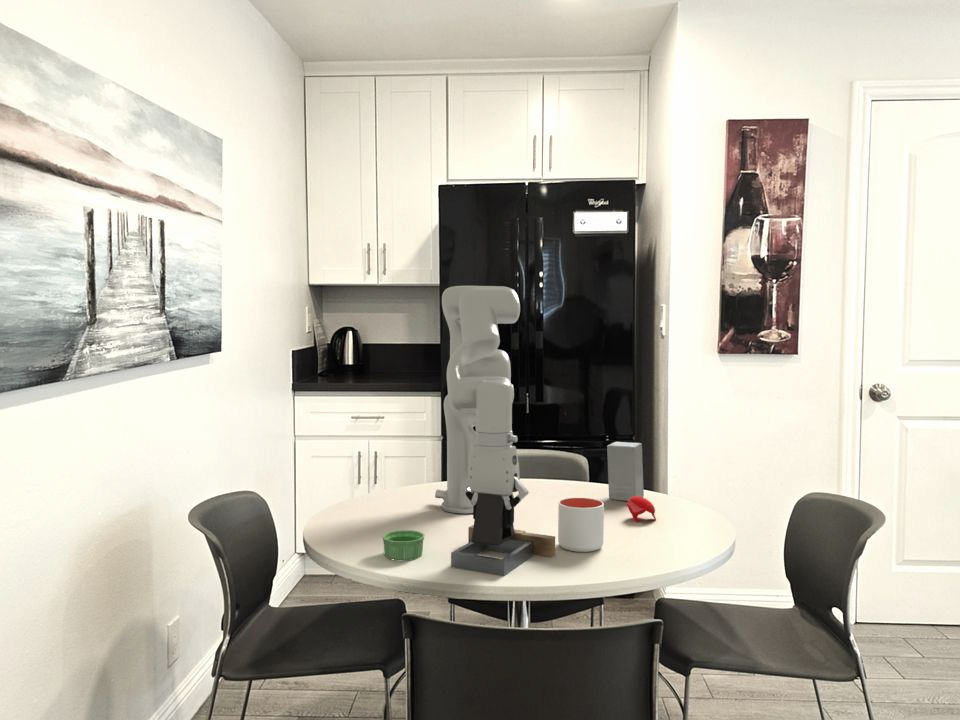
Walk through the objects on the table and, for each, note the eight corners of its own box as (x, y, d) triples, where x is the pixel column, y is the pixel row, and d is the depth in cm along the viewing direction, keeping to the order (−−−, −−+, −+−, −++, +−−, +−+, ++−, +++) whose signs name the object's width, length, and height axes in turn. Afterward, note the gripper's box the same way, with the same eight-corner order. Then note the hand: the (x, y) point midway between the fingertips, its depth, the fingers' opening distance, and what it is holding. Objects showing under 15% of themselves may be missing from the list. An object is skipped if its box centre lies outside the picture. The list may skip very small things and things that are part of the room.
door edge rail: (468, 544, 177) (468, 525, 177) (472, 542, 179) (472, 523, 179) (551, 557, 169) (551, 537, 168) (555, 554, 170) (555, 534, 170)
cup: (592, 556, 169) (592, 510, 169) (550, 549, 175) (550, 504, 174) (610, 545, 178) (610, 501, 177) (570, 538, 183) (570, 495, 182)
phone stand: (489, 532, 171) (489, 477, 170) (514, 535, 168) (515, 479, 168) (471, 542, 163) (471, 485, 162) (497, 546, 160) (498, 487, 160)
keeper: (451, 567, 162) (451, 552, 162) (483, 547, 175) (483, 534, 175) (504, 575, 157) (504, 561, 156) (533, 555, 170) (533, 541, 170)
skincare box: (644, 498, 222) (644, 442, 222) (634, 503, 216) (635, 446, 216) (615, 494, 227) (616, 440, 226) (605, 499, 221) (606, 443, 220)
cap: (627, 511, 195) (648, 499, 195) (621, 497, 201) (642, 486, 200) (641, 533, 198) (662, 521, 198) (635, 519, 204) (655, 508, 203)
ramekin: (389, 564, 164) (389, 543, 164) (377, 552, 172) (377, 532, 172) (430, 559, 168) (430, 538, 167) (416, 547, 176) (416, 528, 176)
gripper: (539, 440, 164) (538, 525, 165) (465, 434, 172) (465, 516, 173) (524, 445, 157) (524, 534, 158) (448, 439, 165) (448, 524, 166)
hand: (493, 524), depth 165 cm, fingers closed on phone stand, 6 cm apart
